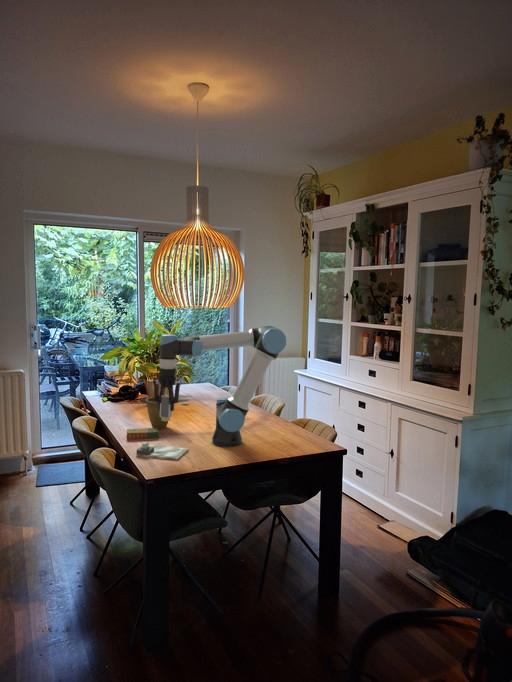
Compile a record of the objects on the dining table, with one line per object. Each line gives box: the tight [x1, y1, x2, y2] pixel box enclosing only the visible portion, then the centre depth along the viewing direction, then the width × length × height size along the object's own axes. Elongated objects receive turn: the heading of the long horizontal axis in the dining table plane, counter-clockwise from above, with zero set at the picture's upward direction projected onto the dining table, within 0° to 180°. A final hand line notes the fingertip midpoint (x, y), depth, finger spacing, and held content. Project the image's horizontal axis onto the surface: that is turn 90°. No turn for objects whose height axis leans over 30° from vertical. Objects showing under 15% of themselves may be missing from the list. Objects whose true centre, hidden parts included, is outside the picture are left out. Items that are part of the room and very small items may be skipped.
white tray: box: [136, 443, 189, 461], centre depth 235 cm, size 20×15×3 cm
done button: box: [141, 441, 150, 450], centre depth 232 cm, size 3×3×3 cm
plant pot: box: [145, 396, 169, 430], centre depth 277 cm, size 15×15×16 cm
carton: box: [126, 427, 160, 441], centre depth 259 cm, size 8×16×4 cm, turn 105°
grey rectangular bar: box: [161, 393, 171, 422], centre depth 233 cm, size 4×4×12 cm
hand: (165, 416), depth 234 cm, fingers closed on grey rectangular bar, 3 cm apart
